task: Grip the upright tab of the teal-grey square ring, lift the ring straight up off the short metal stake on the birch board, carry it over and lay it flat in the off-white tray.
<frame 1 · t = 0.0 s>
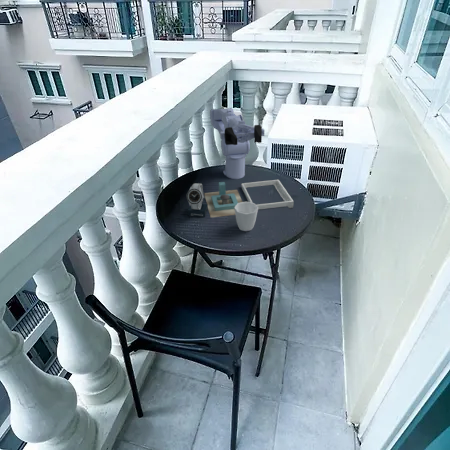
hand: (248, 140, 102), 22 cm above the table, tool horizontal, fingers open, 7 cm apart
ring: (225, 203, 111), point 1 cm above the table, touching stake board
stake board: (224, 205, 112), on the table
watch: (198, 215, 107), on the table
tray: (266, 198, 115), on the table
cup: (245, 227, 102), on the table
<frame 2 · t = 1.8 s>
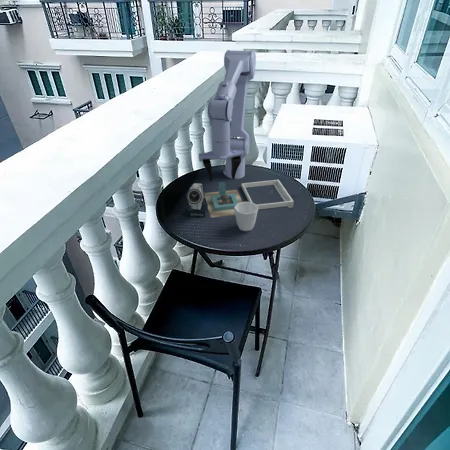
hand: (221, 178, 111), 8 cm above the table, tool pointing down, fingers open, 7 cm apart
nothing on the table moved.
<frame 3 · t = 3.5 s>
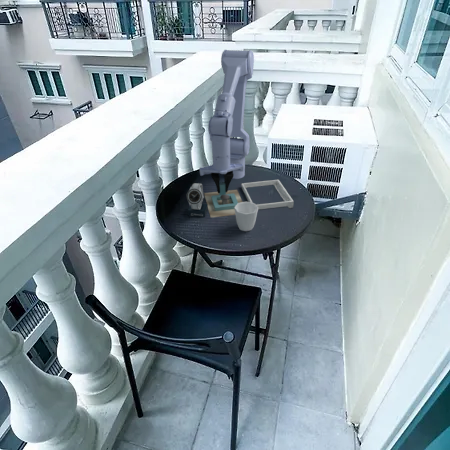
hand: (222, 191, 114), 3 cm above the table, tool pointing down, fingers closed on ring
ring: (225, 203, 111), point 1 cm above the table, touching gripper, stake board
everything else where it was.
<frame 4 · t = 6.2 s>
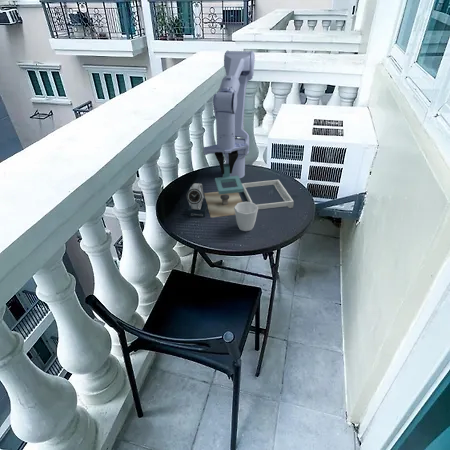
hand: (226, 172, 110), 10 cm above the table, tool pointing down, fingers closed on ring
ring: (228, 186, 108), point 7 cm above the table, tilted 6°, touching gripper
everything else where it was.
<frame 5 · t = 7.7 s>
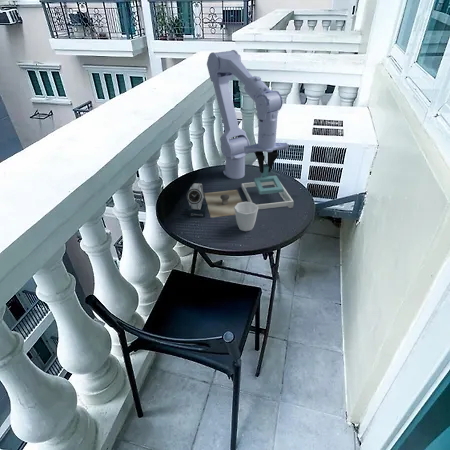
hand: (265, 171, 113), 9 cm above the table, tool pointing down, fingers closed on ring
ring: (268, 186, 111), point 6 cm above the table, tilted 7°, touching gripper
everything else where it was.
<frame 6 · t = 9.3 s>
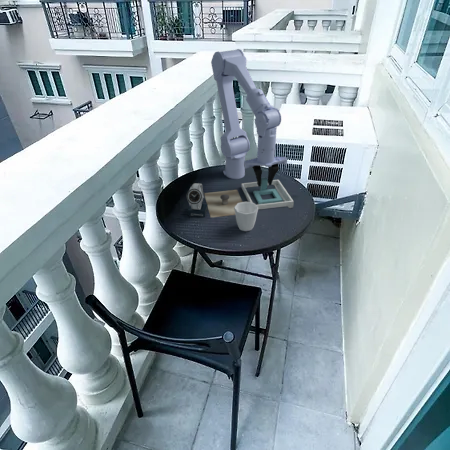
hand: (264, 184, 116), 4 cm above the table, tool pointing down, fingers open, 3 cm apart
ring: (267, 198, 114), point 1 cm above the table, touching tray
everything else where it was.
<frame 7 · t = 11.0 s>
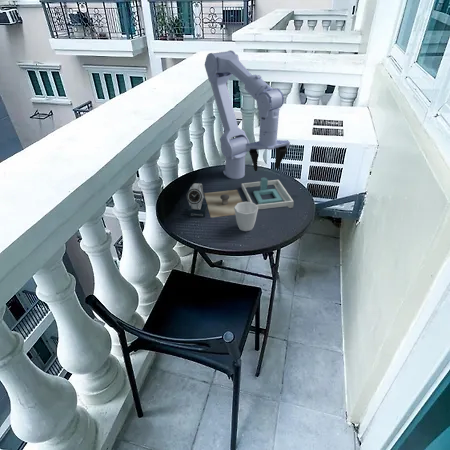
hand: (266, 168, 113), 9 cm above the table, tool pointing down, fingers open, 7 cm apart
nothing on the table moved.
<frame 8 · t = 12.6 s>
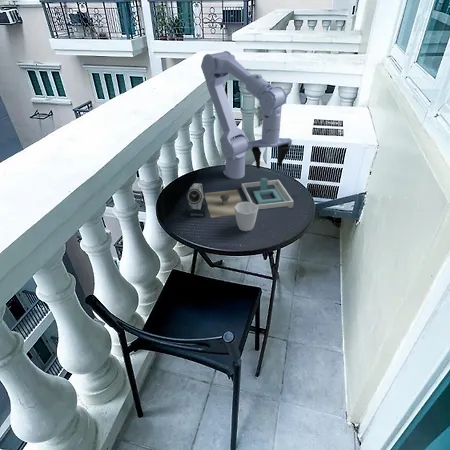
hand: (268, 166, 115), 9 cm above the table, tool pointing down, fingers open, 7 cm apart
nothing on the table moved.
at the end: ring 0.5 cm from the target spot on the tray, point 0.8 cm above the tray's base; ring tilted 0°; the gripper is holding nothing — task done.
